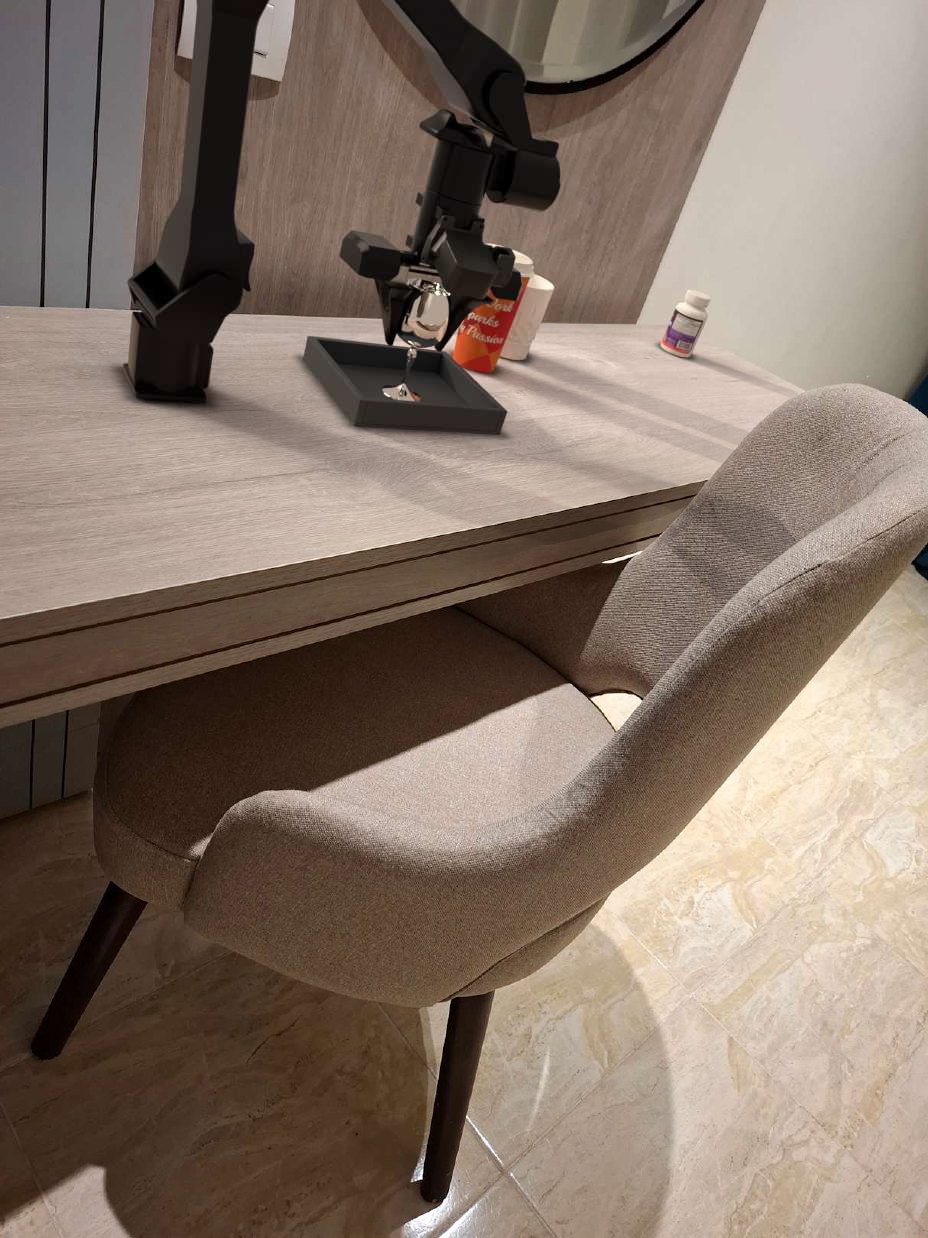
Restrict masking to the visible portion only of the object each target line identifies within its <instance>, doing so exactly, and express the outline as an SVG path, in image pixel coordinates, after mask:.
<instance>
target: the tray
mask: <svg viewBox="0 0 928 1238" xmlns="http://www.w3.org/2000/svg"><path fill="white" fill-rule="evenodd" d="M410 348H411V346H401V345H394V344H393V345H392V346H389V345H388V344H385V343H375V342H368V341H367V342H366V341H358V340H351V339H350V340H349V339H340V338H333V337H323V336H313V335H307V337H306V342H305V347H304V352H303V357H302V361H303V362H304V363H305V365H306V366H307V367H308V368H309V369H310V371H311V373H313V374H314V376H315V378H316V379H317V380H318V381H319V382H320V384H321V385H322V386H323V388H324V389H325V390H326V391H327V393H328V394H329V396H330V397H331V398H332V400H333V401H334V402H335V403H336V404H337V406H338V407H339V408H340V410H341V411H342V412H343V413H344V414H345V416H346V417H347V419H348V420H349V421H350V422H351V424H352V425H353V426H354V427H369V428H370V427H372V428H384V429H385V428H387V429H389V428H390V429H402V430H403V429H404V430H418V431H419V430H420V431H434V432H435V431H436V432H453V433H467V434H468V433H470V434H485V435H501V433H502V429H503V427H504V424H505V421H506V417H507V415H508V410H507V409H506V408H505V407H504V406H503V405H502V404H501V403H500V402H499V401H497V399H496V398H495V397H494V396H492V394H491V393H489V392H488V390H486V388H484V387H483V385H481V384H480V383H479V382H478V381H477V380H476V379H475V378H474V377H473V376H472V375H471V374H470V373H469V372H467V370H465V368H464V367H463V366H461V365H459V364H458V363H457V362H456V361H455V360H454V359H453V356H451V355H450V354H449V353H448V352H447V351H445V350H442V351H437V350H436V349H430V348H428V349H427V348H416V352H417V354H416V358H415V360H414V361H413V364H412V366H411V368H410V371H409V375H408V379H407V387H408V388H409V389H411V390H413V391H414V392H416V393H417V394H418V395H419V396H420V398H421V401H420V402H418V401H405V400H393V399H391V398H389V397H388V396H386V395H385V394H384V393H383V392H382V387H383V386H384V385H400V384H401V382H402V380H403V378H404V374H405V370H406V364H407V353H408V351H409V349H410Z"/></svg>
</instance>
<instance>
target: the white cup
mask: <svg viewBox="0 0 928 1238" xmlns="http://www.w3.org/2000/svg"><path fill="white" fill-rule="evenodd" d="M554 291H555V286H554V284H553V283H552V282H551V281H549V280H547V279H546V278H544V277H542V276H540V275H538V274H535V276H534V277H530V279H529V282H528V284H527V287H526V289H525V292H524V295H523V297H522V300H521V302H520V305H519V308H518V310H517V313H516V315H515V318H514V321H513V323H512V326H511V328H510V331H509V333H508V336H507V339H506V341H505V344H504V346H503V349H502V351H501V354H500V356H499V358H504V359H508V360H512V361H522V360H523V361H524V360H526V358H527V356H528V353H529V352H530V349H531V346H532V344H533V341H535V339H536V336H537V334H538V331H539V329H540V326H541V323H542V321H543V319H544V316H545V314H546V311H547V309H548V306H549V303H550V301H551V299H552V296H553V293H554Z"/></svg>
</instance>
